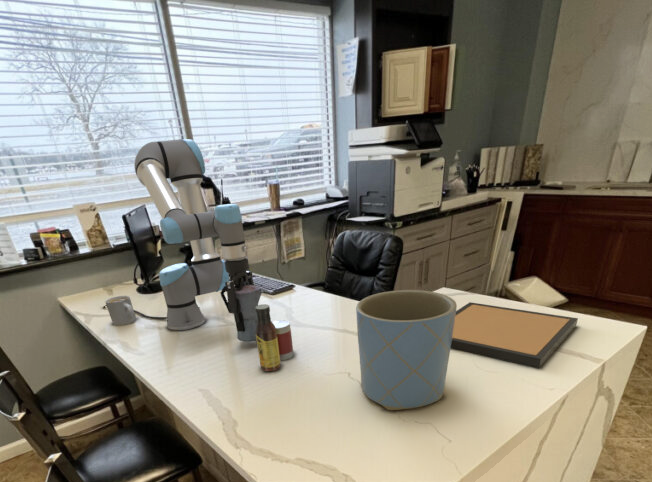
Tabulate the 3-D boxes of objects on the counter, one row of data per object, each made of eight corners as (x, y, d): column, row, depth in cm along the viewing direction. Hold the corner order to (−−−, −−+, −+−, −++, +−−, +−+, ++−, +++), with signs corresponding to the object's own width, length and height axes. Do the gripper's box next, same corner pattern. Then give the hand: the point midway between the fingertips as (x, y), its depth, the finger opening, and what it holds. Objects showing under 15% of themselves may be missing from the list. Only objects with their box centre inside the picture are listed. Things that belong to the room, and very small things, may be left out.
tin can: (269, 359, 132) (264, 327, 126) (278, 350, 137) (273, 319, 131) (288, 361, 129) (284, 328, 124) (296, 352, 135) (293, 320, 129)
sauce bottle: (261, 364, 129) (251, 303, 119) (280, 362, 129) (272, 301, 119) (261, 374, 123) (250, 310, 113) (281, 371, 123) (273, 308, 113)
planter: (466, 401, 100) (478, 309, 88) (381, 423, 96) (382, 329, 83) (418, 364, 119) (423, 284, 107) (345, 381, 115) (342, 299, 102)
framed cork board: (538, 368, 111) (575, 326, 132) (541, 358, 109) (578, 318, 130) (421, 341, 133) (468, 309, 154) (421, 333, 131) (469, 302, 152)
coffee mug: (109, 322, 181) (101, 300, 175) (131, 315, 186) (124, 294, 181) (121, 328, 172) (113, 305, 167) (143, 321, 177) (136, 299, 172)
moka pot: (266, 343, 137) (257, 283, 127) (223, 343, 140) (211, 285, 130) (273, 332, 145) (265, 275, 135) (232, 332, 148) (222, 277, 138)
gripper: (229, 266, 120) (242, 338, 131) (260, 250, 136) (270, 316, 148) (207, 266, 122) (222, 337, 134) (241, 251, 139) (251, 315, 150)
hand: (247, 326), depth 141 cm, fingers closed on moka pot, 8 cm apart
